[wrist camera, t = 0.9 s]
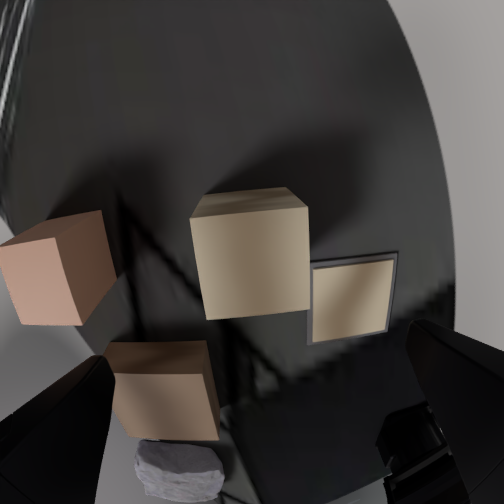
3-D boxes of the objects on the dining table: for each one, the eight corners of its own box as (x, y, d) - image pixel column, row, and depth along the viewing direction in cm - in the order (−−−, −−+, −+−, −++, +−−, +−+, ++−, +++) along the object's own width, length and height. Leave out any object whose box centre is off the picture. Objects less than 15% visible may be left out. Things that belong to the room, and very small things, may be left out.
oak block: (285, 186, 18) (307, 206, 13) (289, 262, 20) (310, 309, 14) (203, 194, 18) (189, 218, 13) (214, 270, 20) (206, 320, 14)
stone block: (220, 432, 29) (129, 435, 26) (228, 467, 24) (130, 471, 22) (217, 474, 33) (146, 477, 30) (224, 502, 29) (149, 505, 26)
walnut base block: (206, 338, 22) (202, 373, 18) (220, 406, 25) (219, 440, 21) (110, 340, 22) (94, 371, 18) (138, 405, 25) (128, 436, 21)
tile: (396, 252, 20) (398, 254, 20) (386, 330, 22) (388, 332, 22) (306, 262, 20) (307, 264, 20) (306, 344, 22) (307, 347, 22)
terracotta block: (101, 209, 18) (54, 237, 12) (117, 278, 20) (82, 325, 14) (45, 220, 18) (-5, 248, 12) (62, 283, 20) (22, 324, 14)
